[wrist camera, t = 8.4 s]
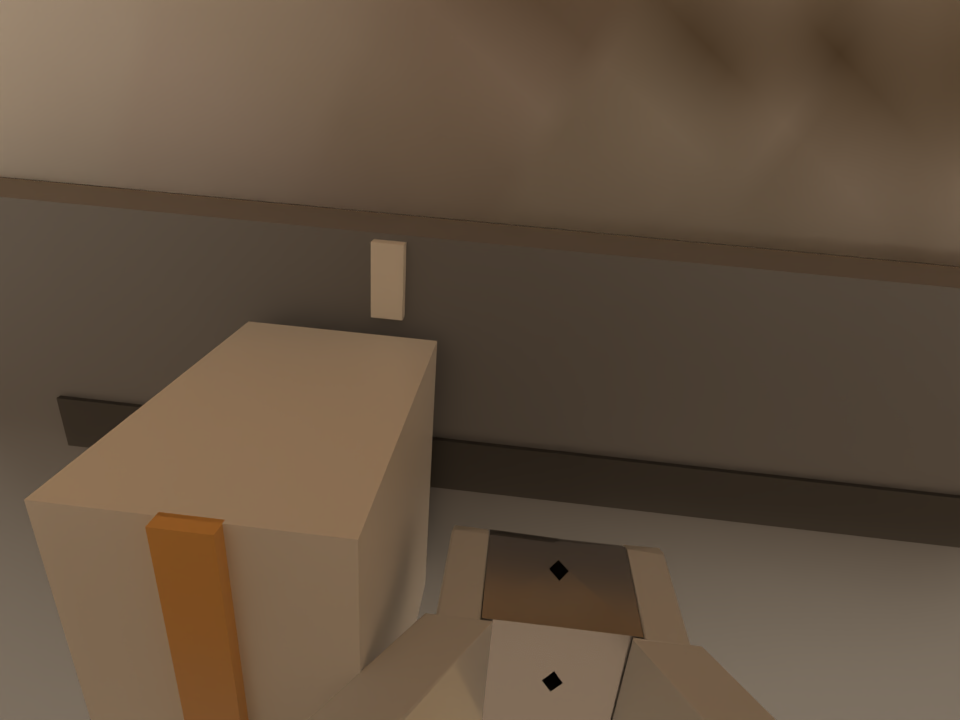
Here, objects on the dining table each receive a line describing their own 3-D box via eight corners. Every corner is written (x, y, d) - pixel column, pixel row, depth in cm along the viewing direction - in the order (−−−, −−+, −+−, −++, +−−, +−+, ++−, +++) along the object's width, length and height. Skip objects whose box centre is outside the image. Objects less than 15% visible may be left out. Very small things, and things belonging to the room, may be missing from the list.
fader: (437, 340, 9) (353, 552, 5) (425, 582, 11) (358, 876, 7) (248, 321, 9) (10, 511, 5) (271, 563, 11) (115, 841, 7)
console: (1518, 318, 9) (1709, 362, 8) (1046, 867, 16) (1099, 949, 15) (-133, 164, 11) (-244, 176, 9) (60, 730, 17) (13, 793, 16)
